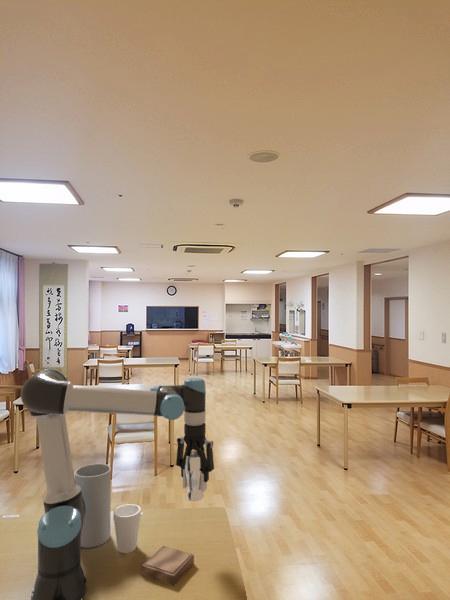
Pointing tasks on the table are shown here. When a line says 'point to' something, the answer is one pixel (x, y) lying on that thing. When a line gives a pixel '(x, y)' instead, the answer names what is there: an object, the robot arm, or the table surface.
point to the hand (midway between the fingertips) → (194, 488)
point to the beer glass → (193, 476)
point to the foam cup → (127, 527)
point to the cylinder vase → (95, 503)
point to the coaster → (168, 565)
